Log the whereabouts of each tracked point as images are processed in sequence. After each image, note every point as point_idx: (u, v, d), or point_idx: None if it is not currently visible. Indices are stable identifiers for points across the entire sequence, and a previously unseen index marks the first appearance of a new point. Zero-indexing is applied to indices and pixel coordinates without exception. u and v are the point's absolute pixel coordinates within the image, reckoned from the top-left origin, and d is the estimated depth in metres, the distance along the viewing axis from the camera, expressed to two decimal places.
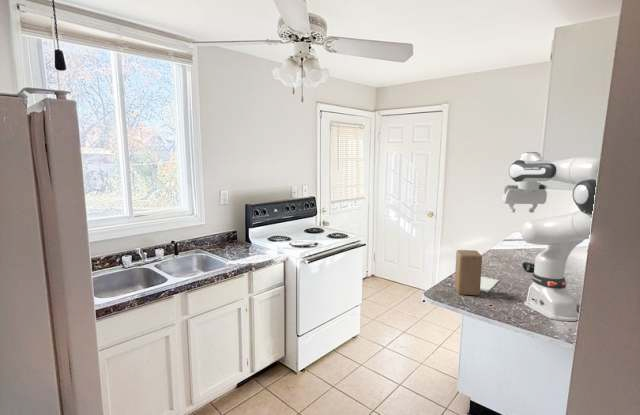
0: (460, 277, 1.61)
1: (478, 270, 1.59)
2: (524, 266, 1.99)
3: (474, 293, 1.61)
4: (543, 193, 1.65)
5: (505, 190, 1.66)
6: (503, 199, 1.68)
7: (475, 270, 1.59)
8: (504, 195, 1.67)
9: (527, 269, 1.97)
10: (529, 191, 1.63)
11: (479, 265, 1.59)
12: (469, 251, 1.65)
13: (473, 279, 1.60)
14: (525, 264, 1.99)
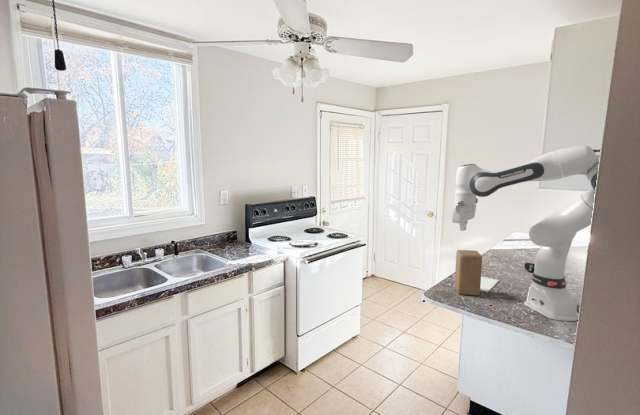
0: (460, 277, 1.61)
1: (478, 270, 1.59)
2: (526, 266, 1.98)
3: (474, 293, 1.61)
4: (474, 207, 1.56)
5: (457, 208, 1.44)
6: (455, 219, 1.45)
7: (475, 270, 1.59)
8: (456, 214, 1.45)
9: (529, 269, 1.96)
10: (471, 206, 1.50)
11: (479, 265, 1.58)
12: (469, 251, 1.65)
13: (473, 279, 1.60)
14: (527, 264, 1.98)
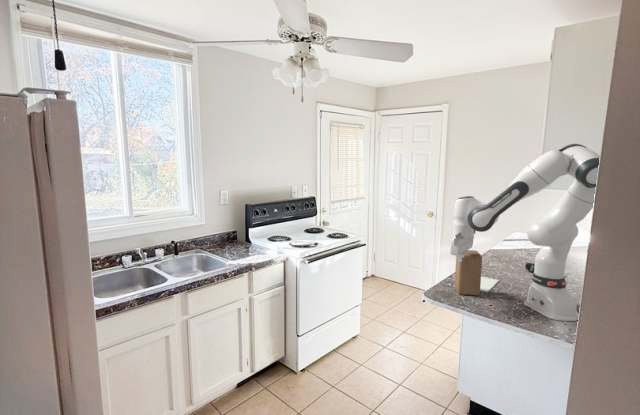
0: (460, 277, 1.61)
1: (478, 270, 1.59)
2: (527, 267, 1.98)
3: (474, 293, 1.61)
4: (472, 237, 1.58)
5: (455, 241, 1.46)
6: (453, 251, 1.47)
7: (475, 270, 1.59)
8: (454, 246, 1.47)
9: (531, 270, 1.96)
10: (469, 238, 1.52)
11: (479, 265, 1.58)
12: (469, 251, 1.65)
13: (473, 279, 1.60)
14: (528, 265, 1.97)
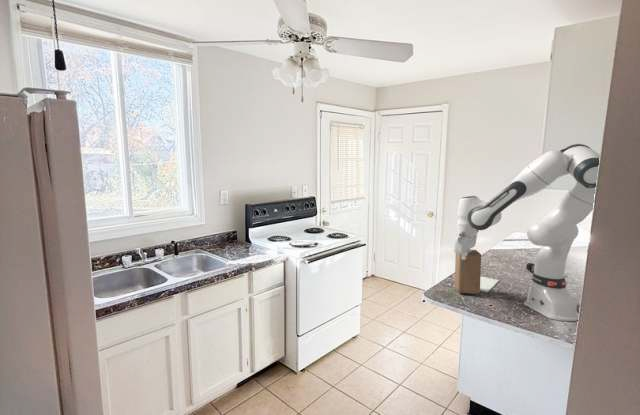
0: (460, 275, 1.62)
1: (478, 268, 1.60)
2: (529, 267, 1.97)
3: (474, 291, 1.61)
4: (475, 236, 1.62)
5: (459, 239, 1.50)
6: (457, 249, 1.51)
7: (474, 268, 1.60)
8: (458, 245, 1.51)
9: (532, 270, 1.96)
10: (473, 236, 1.56)
11: (478, 263, 1.60)
12: None
13: (473, 277, 1.61)
14: (530, 265, 1.97)
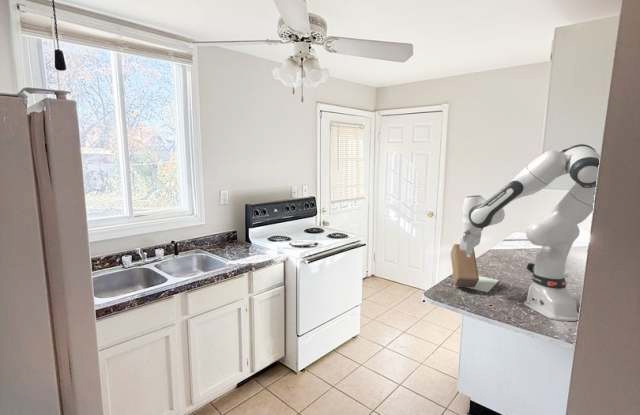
0: (457, 262, 1.69)
1: (472, 256, 1.70)
2: (529, 267, 1.97)
3: (473, 277, 1.64)
4: (480, 234, 1.67)
5: (464, 237, 1.55)
6: (462, 247, 1.56)
7: None
8: (463, 242, 1.56)
9: (533, 270, 1.95)
10: (477, 234, 1.61)
11: None
12: None
13: (470, 264, 1.68)
14: (530, 265, 1.97)
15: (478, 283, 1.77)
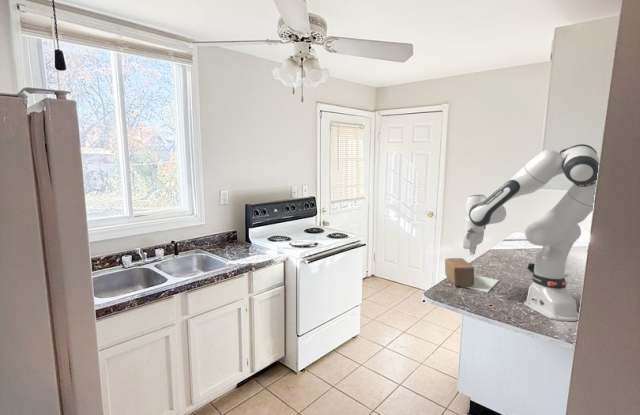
0: (450, 263, 1.80)
1: (463, 260, 1.83)
2: (530, 267, 1.97)
3: (468, 266, 1.72)
4: (482, 232, 1.71)
5: (468, 235, 1.59)
6: (466, 245, 1.59)
7: (461, 260, 1.83)
8: (466, 241, 1.59)
9: None
10: (480, 233, 1.64)
11: (463, 259, 1.86)
12: None
13: (462, 263, 1.79)
14: (531, 265, 1.97)
15: (478, 283, 1.77)
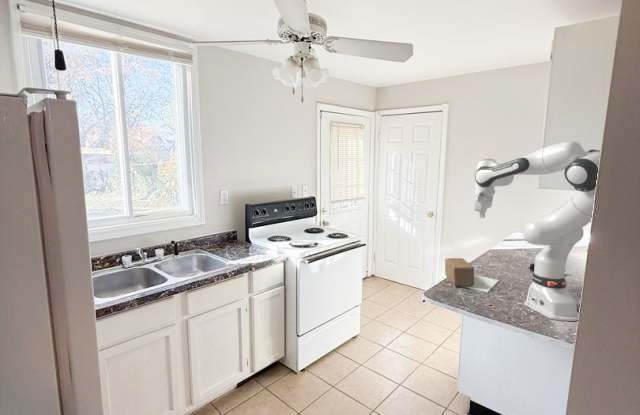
0: (450, 263, 1.80)
1: (463, 260, 1.83)
2: (532, 268, 1.96)
3: (468, 266, 1.72)
4: (492, 197, 1.77)
5: (479, 198, 1.64)
6: (477, 207, 1.65)
7: (461, 260, 1.83)
8: (477, 203, 1.65)
9: None
10: (490, 196, 1.70)
11: (463, 259, 1.86)
12: None
13: (462, 263, 1.79)
14: (533, 265, 1.96)
15: (478, 283, 1.77)
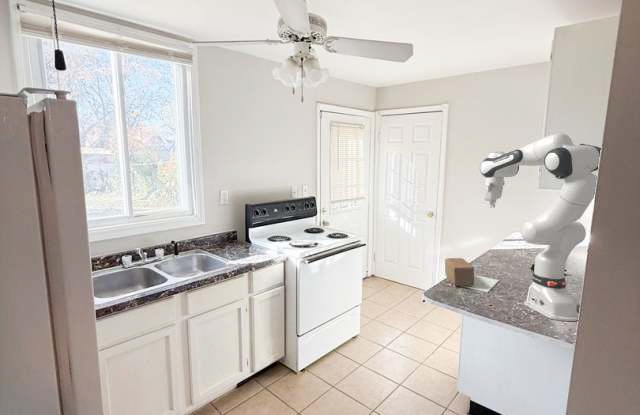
0: (450, 263, 1.80)
1: (463, 260, 1.83)
2: None
3: (468, 266, 1.72)
4: (501, 188, 1.87)
5: (489, 188, 1.75)
6: (487, 197, 1.76)
7: (461, 260, 1.83)
8: (488, 193, 1.75)
9: None
10: (500, 187, 1.80)
11: (463, 259, 1.86)
12: None
13: (462, 263, 1.79)
14: None
15: (478, 283, 1.77)
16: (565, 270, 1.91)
